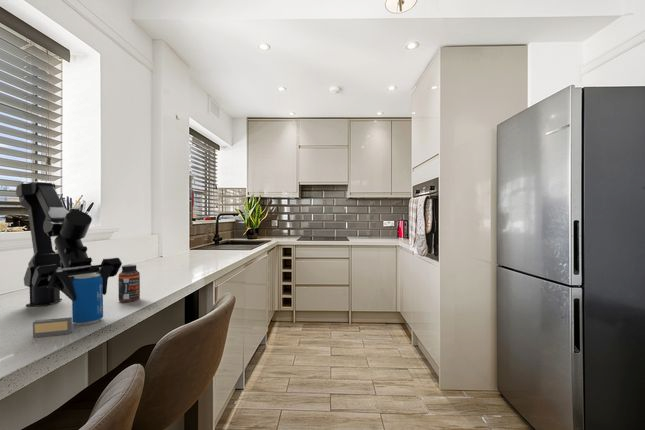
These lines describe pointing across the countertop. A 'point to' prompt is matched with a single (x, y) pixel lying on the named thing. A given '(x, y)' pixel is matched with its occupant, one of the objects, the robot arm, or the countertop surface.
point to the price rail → (52, 327)
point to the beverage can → (87, 299)
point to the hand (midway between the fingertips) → (90, 296)
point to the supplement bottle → (129, 284)
